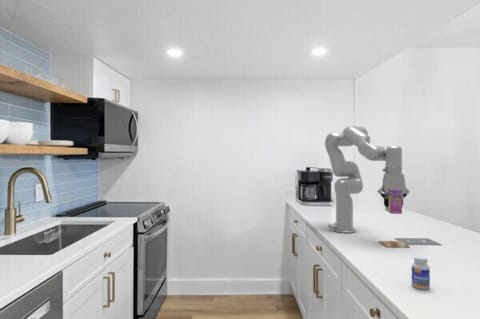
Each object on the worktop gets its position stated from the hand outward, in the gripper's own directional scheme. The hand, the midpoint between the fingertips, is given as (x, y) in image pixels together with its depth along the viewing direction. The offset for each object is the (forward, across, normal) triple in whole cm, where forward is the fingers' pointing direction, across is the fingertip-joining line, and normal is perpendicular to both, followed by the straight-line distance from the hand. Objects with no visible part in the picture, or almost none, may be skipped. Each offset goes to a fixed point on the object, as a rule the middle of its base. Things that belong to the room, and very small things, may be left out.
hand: (393, 206), depth 172 cm
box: (+3, 0, 0) cm, 3 cm away
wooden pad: (+19, 0, 0) cm, 19 cm away
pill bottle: (+19, -14, -57) cm, 62 cm away
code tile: (+19, +15, +7) cm, 25 cm away
